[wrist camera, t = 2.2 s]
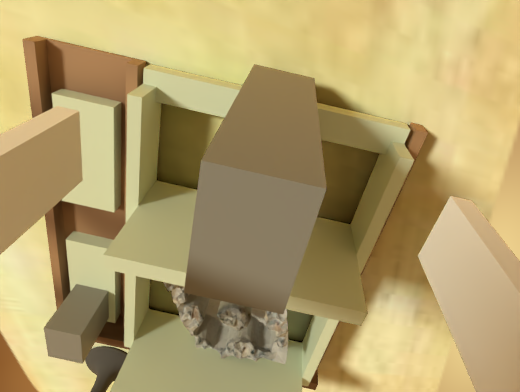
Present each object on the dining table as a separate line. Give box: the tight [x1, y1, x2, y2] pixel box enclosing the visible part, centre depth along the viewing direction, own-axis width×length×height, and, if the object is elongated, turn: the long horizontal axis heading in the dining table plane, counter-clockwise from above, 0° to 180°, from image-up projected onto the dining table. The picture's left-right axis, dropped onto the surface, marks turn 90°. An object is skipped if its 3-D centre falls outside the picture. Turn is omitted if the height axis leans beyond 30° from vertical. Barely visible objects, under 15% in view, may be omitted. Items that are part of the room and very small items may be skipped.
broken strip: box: [44, 89, 121, 363], centre depth 23 cm, size 18×3×5 cm, turn 168°
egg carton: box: [163, 282, 288, 364], centre depth 25 cm, size 11×8×4 cm
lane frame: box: [23, 36, 428, 390], centre depth 24 cm, size 21×21×2 cm
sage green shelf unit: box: [103, 64, 414, 392], centre depth 19 cm, size 21×14×12 cm, turn 169°
